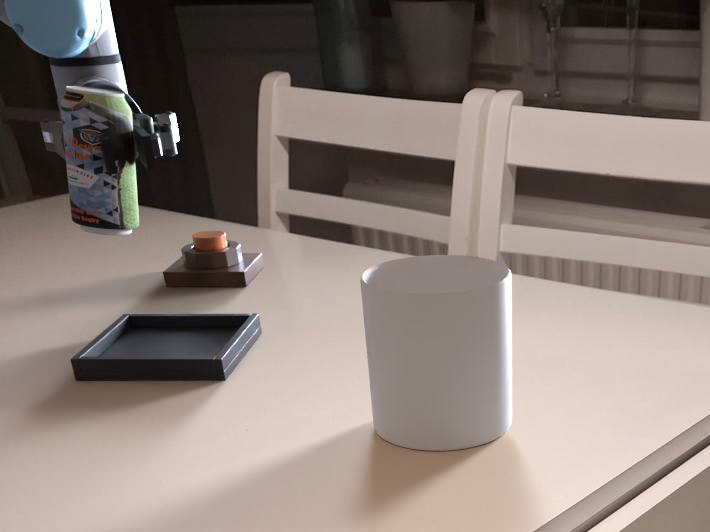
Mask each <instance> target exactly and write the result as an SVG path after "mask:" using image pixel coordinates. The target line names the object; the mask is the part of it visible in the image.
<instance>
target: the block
mask: <svg viewBox="0 0 710 532" xmlns="http://www.w3.org/2000/svg"><path fill="white" fill-rule="evenodd" d="M226 240H227V246H228V248H225V249H222V250H215V251H196V250H194V244H193V242H192V243H188V244H186V245H184V246H183V247H182V248H181V249H180V250H181V256H180V257H179V258H178V259H177V260H175V261H174V262H173V263H172V264H171V265H169V266H168V267H167V268H165V270H163V271H162V276H163V280H164V285H165V286H164V287H166V288H197V287H198V288H199V287H200V288H202V287H203V288H205V287H206V288H207V287H208V288H209V287H213V288H215V287H221V288H223V287H227V288H228V287H248V285H250V283H251V282H252V281H253V280H254V279H255V278H256V276H258V274H260V272H261V271H262V270H263V269H264V268H265V266H264V265H265V264H264V258H263V253H262V252H243V253H242V246H241V244H240V243H239V242H237V241H235V240H229V239H226Z"/></svg>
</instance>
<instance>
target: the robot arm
mask: <svg viewBox="0 0 710 532" xmlns="http://www.w3.org/2000/svg"><path fill="white" fill-rule="evenodd" d="M0 21H1V22H2V23H4V24H5V25H7V26H8V27H9V28H11V29H12V30H13V31H14V32H15V33H16V35H17V36H18V37H19V38H20V40H21V41H22V42H23V43H24V44H25V45H27V46H28V47H29V48H30V49H31V50H33V51H35V52H37V53H39V54H41V55H43V56H46V57H48V61H49V66H50V70H51V75H52V79H53V82H54V87H55V92H56V95H57V100H56V101H57V106H58V110H59V116H60V119H61V120H58V121H56V120H55V121H54V120H49V119H42V121H39V125H40V126H39V127H40V130H41V132H42V138H43V141H44V145H45V149H46V151H48V152H51V153H56V154H57V155H59V157H60V158H62V159H64V161H66V156H65V145H64V135H63V125H62V115H61V101H62V99H63V97H64V95H65V94H66V86H78V87H90V88H99V89H106V90H113V91H118V92H122V93H124V98H125V101H126V102H127V104H128V105H129V107H130V109H131V111H132V119H133V135H134V150H135V160H137V158H138V157H139V161H140V162H141V164H142V165H143V167H144V168H145V169H146V170H147V171H148V172H157V171H158V168H157V162H156V158H160V157H162V156H163V155H164V156H168V157H175V156H176V155H178V149H177V144H176V143H178V142H180V140H181V139H180V134H179V128H178V127H179V126H178V123H177V116H176V113H175V112H172V111H166V112H164V113H161V114H154V117H155V121H153V117H151V116H149V115H148V114H145V113H143V112H142V111H141V109H140V107H139V105H138V104H137V103H136V102H135V100H134V99H133V97H131V96H130V95H129V93H128V88H127V83H126V77H125V72H124V68H123V64H122V59H121V54H120V52H119V47H118V41H117V37H116V32H115V25H114V20H113V15H112V10H111V5H110V0H0ZM99 139H100V144H101V148H102V153H103V157H104V162H105V166H106V171H107V172H108V174H109V175H112V174H118V173H117V169H116V164H115V159H114V155H113V150H112V146H111V141H110V138H109V137H108V135H107V136H99ZM163 153H164V154H163Z"/></svg>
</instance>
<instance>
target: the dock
mask: <svg viewBox="0 0 710 532" xmlns="http://www.w3.org/2000/svg"><path fill="white" fill-rule="evenodd" d="M262 333H263V331H262V325H261V319H260V314H259V313H123V314H121V316H119V317H118V318H117V319H116V320H114V321H113V322H112V323H111V324H109V326H108V327H106V328H105V329H104V330H103V331H101V333H100V334H98V335H97V336H96V337H95V338H93V339H92V340H91V341H90V342H89V343H88V344H86V345H85V346H84V347H83V348H81V349H80V351H78V352H77V353H75V355H73V356H72V357H71V358H70V364H71V368H72V371H73V375H74V378H75V381H226V380H227V379H228V378H229V377H230V375H231V374H232V372H234V370H235V368H236V367H237V366H238V365H239V363H240V362H241V361H242V359H243V358H244V357H245V355H247V353H248V352H249V350H250V349H251V348H252V346H253V345H254V344H255V342H256V341H257V340H258V339H259V338H260V336H261V335H262Z"/></svg>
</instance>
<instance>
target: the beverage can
mask: <svg viewBox="0 0 710 532" xmlns="http://www.w3.org/2000/svg"><path fill="white" fill-rule="evenodd" d="M61 115H62V119H61V121H62V125H63V135H64V145H65V156H66V160H65V164H66V174H67V175H66V176H67V185H68V186H67V187H68V194H69V206H70V217H71V221H73V223H75V224H77V225H78V226H80V230H81V231H83V232H86V233H90V234H94V235H102V236H127V235H130V234H132V232H133V230H135V229H136V228H138V227H139V226H140V214H139V213H140V212H139V201H138V200H139V199H138V185H137V183H138V182H137V169H136V168H137V167H136V166H137V165H136V159H135V150H134V135H133V119H132V111H131V109H130V107H129V105H128V104H127V102H126V101H125V98H124V93H122V92H118V91H113V90H106V89H99V88H90V87H78V86H66V94H65V95H64V97H63V99H62V101H61ZM107 135H108V137H109V138H110V141H111V146H112V150H113V155H114V159H115V164H116V169H117V173H118V174H112V175H109V174H108V172H107V171H106V166H105V162H104V157H103V153H102V148H101V144H100V139H99V136H107Z"/></svg>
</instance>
